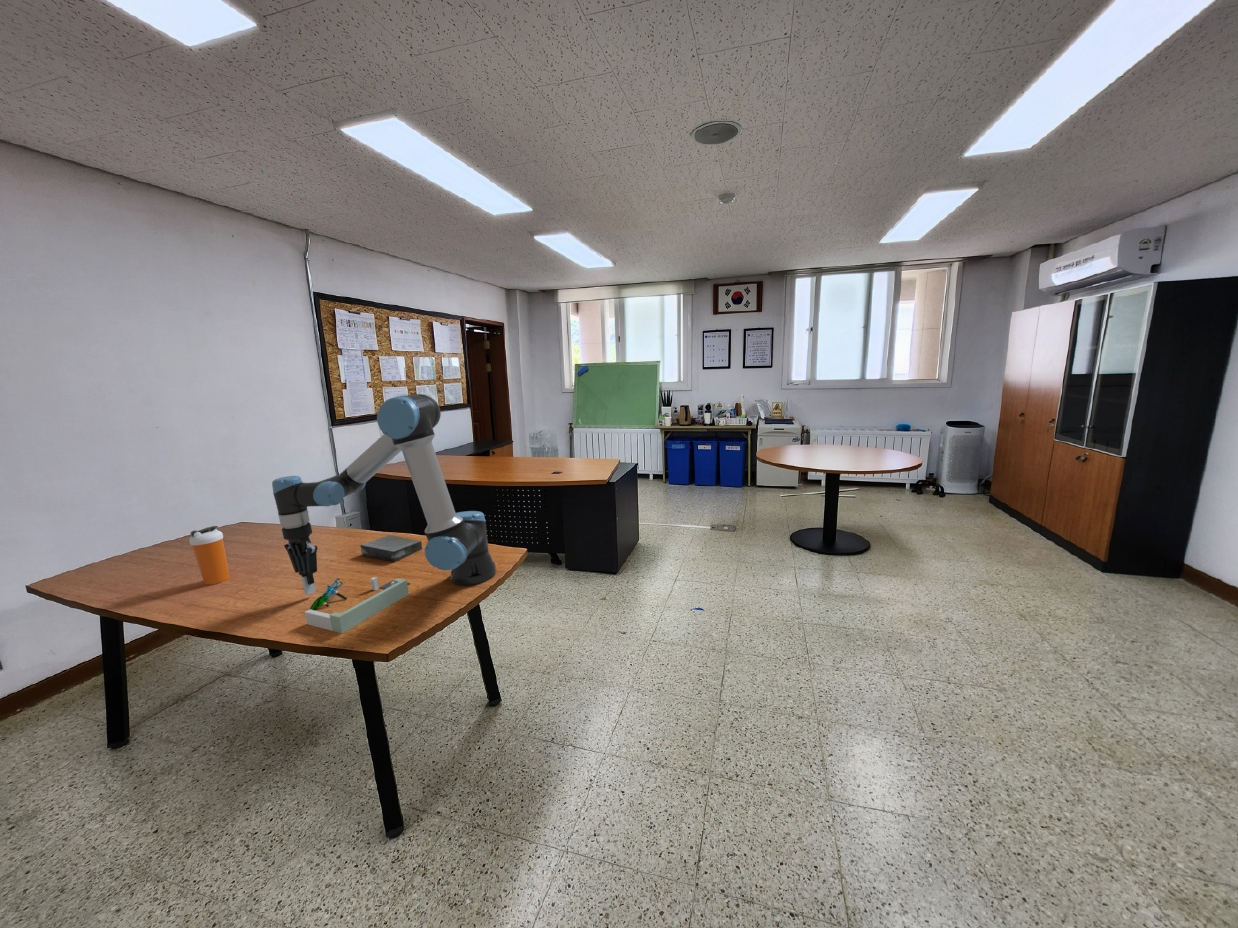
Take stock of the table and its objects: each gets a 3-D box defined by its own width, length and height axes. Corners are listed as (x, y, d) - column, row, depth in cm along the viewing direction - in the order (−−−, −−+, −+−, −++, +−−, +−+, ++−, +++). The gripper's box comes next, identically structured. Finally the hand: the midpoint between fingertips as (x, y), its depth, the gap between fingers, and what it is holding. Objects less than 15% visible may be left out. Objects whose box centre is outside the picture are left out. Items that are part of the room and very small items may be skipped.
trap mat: (410, 583, 151) (410, 583, 151) (397, 591, 146) (397, 590, 146) (393, 580, 154) (393, 579, 154) (379, 588, 149) (379, 587, 149)
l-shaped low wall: (399, 592, 145) (397, 581, 144) (332, 630, 124) (330, 618, 123) (376, 587, 149) (374, 576, 148) (307, 624, 128) (304, 611, 128)
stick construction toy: (334, 586, 147) (338, 572, 143) (353, 596, 148) (357, 583, 144) (305, 613, 137) (308, 599, 133) (325, 624, 138) (329, 611, 133)
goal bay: (408, 594, 143) (406, 580, 142) (342, 633, 123) (339, 617, 122) (399, 592, 145) (397, 578, 144) (332, 630, 124) (329, 614, 123)
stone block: (395, 563, 170) (393, 550, 169) (361, 556, 178) (359, 545, 177) (423, 550, 182) (422, 538, 181) (390, 544, 190) (388, 533, 189)
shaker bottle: (238, 577, 164) (225, 526, 159) (208, 588, 156) (194, 534, 152) (225, 573, 167) (213, 523, 163) (195, 584, 159) (181, 532, 155)
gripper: (321, 522, 140) (335, 589, 145) (295, 519, 145) (309, 584, 150) (296, 530, 134) (312, 601, 139) (270, 526, 139) (285, 595, 143)
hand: (310, 592), depth 144 cm, fingers closed
